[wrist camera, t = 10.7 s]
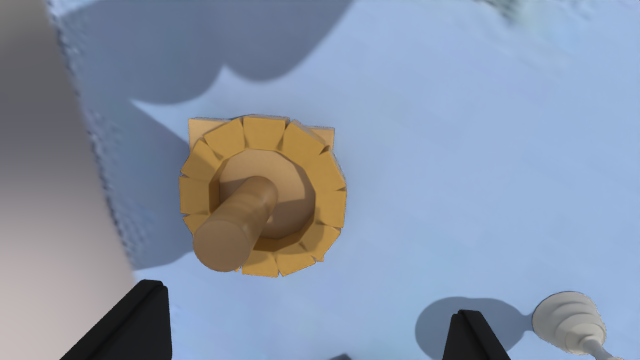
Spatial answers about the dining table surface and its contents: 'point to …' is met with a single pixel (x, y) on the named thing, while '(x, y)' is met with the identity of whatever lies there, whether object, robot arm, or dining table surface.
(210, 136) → the ring
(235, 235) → the stand
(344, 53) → the dining table surface
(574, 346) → the chalice
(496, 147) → the dining table surface
